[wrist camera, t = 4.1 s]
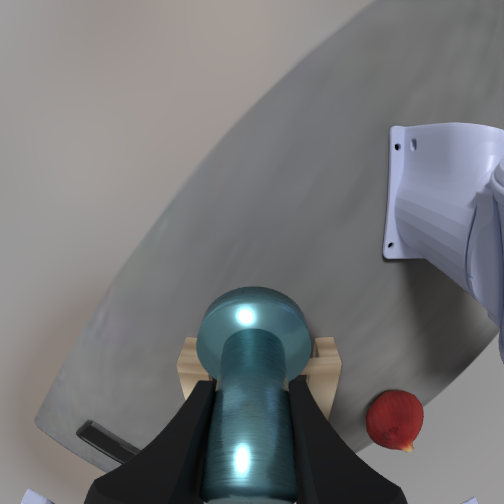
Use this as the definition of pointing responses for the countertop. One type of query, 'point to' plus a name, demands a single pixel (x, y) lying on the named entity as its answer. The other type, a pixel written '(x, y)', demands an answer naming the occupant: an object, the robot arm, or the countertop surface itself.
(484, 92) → the countertop surface
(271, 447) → the peg
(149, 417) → the countertop surface
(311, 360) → the beige wooden frame
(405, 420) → the onion
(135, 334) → the countertop surface
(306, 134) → the countertop surface
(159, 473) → the robot arm
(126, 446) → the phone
